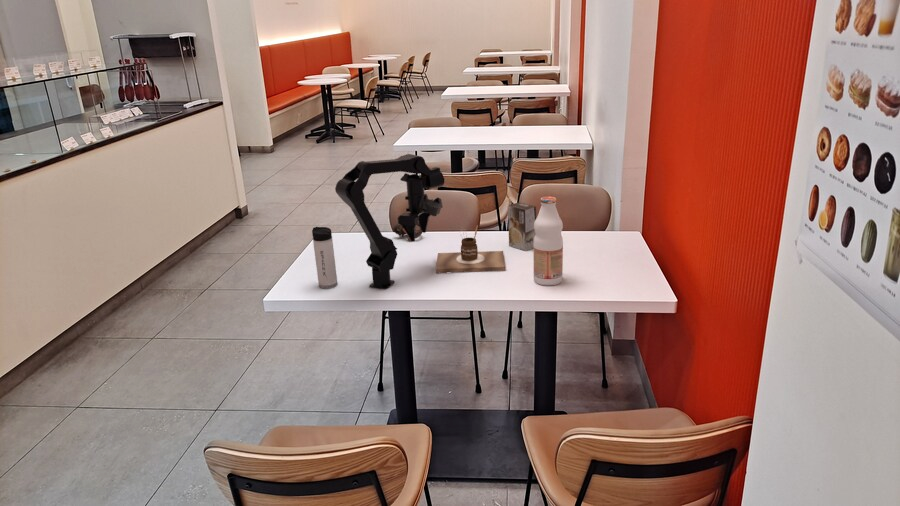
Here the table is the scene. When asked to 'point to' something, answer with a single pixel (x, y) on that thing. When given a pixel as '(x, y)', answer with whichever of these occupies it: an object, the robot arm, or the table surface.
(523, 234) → the coffee box
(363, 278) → the table surface
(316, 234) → the travel mug
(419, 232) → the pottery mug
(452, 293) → the table surface
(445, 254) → the walnut board
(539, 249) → the fruit juice
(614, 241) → the table surface
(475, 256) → the utensil holder
